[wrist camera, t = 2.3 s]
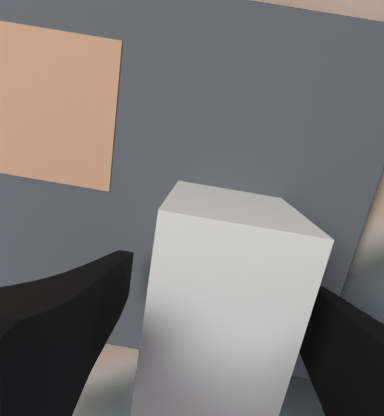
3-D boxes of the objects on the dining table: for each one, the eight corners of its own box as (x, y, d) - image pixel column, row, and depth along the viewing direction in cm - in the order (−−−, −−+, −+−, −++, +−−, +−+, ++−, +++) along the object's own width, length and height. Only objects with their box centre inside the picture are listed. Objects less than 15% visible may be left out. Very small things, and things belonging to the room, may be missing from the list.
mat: (418, 35, 10) (431, 29, 10) (306, 370, 14) (311, 380, 14) (-138, -55, 11) (-159, -67, 10) (-95, 299, 15) (-108, 306, 14)
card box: (281, 197, 12) (334, 239, 7) (242, 351, 14) (262, 467, 9) (178, 180, 12) (158, 209, 7) (155, 335, 14) (126, 442, 9)
